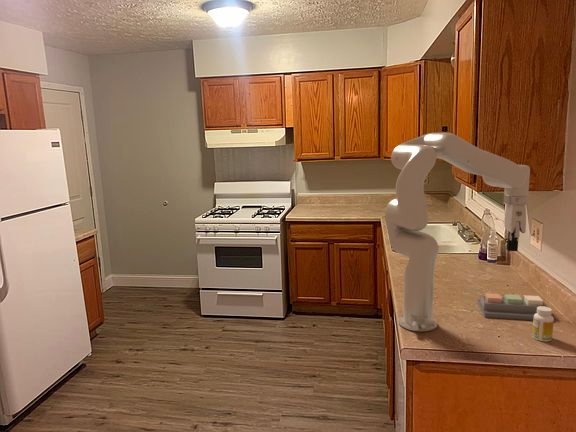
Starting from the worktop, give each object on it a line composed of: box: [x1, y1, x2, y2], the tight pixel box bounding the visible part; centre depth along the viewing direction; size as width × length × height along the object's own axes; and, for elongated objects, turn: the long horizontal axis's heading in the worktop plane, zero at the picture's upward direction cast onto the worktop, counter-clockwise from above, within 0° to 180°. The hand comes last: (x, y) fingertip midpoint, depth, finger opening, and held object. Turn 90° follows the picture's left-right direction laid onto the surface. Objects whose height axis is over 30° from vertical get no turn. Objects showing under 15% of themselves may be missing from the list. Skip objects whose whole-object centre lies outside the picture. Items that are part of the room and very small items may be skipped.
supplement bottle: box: [531, 306, 555, 343], centre depth 136 cm, size 5×5×10 cm
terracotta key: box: [484, 292, 502, 303], centre depth 157 cm, size 5×5×3 cm
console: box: [476, 295, 549, 321], centre depth 156 cm, size 13×21×4 cm, turn 77°
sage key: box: [504, 293, 522, 304], centre depth 156 cm, size 5×5×3 cm
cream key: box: [523, 294, 544, 306], centre depth 154 cm, size 5×5×3 cm
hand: (511, 250), depth 158 cm, fingers closed
